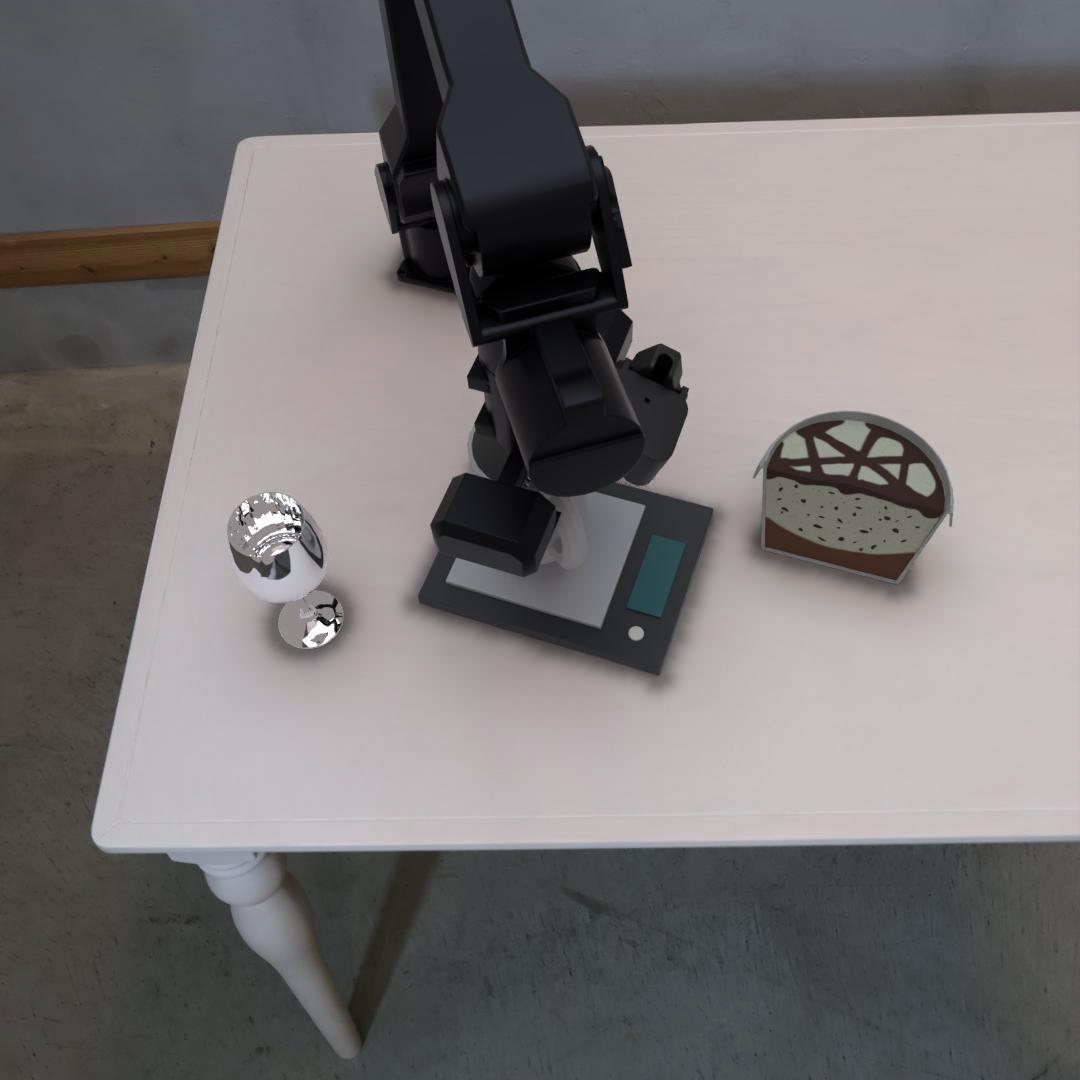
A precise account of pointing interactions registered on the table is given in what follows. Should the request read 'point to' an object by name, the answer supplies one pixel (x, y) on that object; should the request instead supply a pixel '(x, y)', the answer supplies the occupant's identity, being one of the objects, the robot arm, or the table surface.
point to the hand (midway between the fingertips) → (543, 504)
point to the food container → (853, 494)
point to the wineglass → (285, 565)
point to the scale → (593, 581)
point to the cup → (570, 529)
